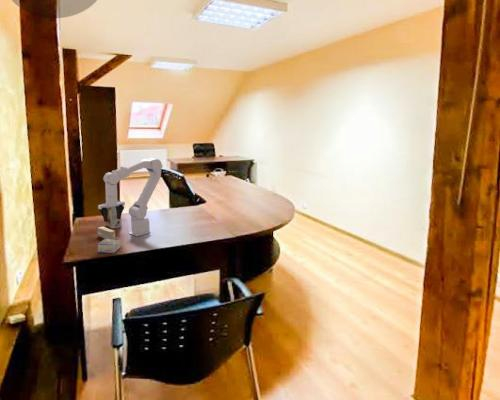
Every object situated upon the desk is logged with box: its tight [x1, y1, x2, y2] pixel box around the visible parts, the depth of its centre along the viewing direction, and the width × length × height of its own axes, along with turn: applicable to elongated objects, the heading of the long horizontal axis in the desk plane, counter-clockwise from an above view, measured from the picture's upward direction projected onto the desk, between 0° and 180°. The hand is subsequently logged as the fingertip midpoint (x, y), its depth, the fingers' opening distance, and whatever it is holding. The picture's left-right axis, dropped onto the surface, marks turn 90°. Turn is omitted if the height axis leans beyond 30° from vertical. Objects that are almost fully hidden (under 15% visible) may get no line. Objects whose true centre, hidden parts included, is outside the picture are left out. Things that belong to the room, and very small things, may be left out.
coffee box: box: [104, 198, 123, 229], centre depth 220 cm, size 9×6×16 cm
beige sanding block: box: [97, 226, 116, 240], centre depth 200 cm, size 3×12×5 cm, turn 52°
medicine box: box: [97, 238, 121, 254], centre depth 182 cm, size 8×4×9 cm
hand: (112, 220), depth 197 cm, fingers open, 7 cm apart
